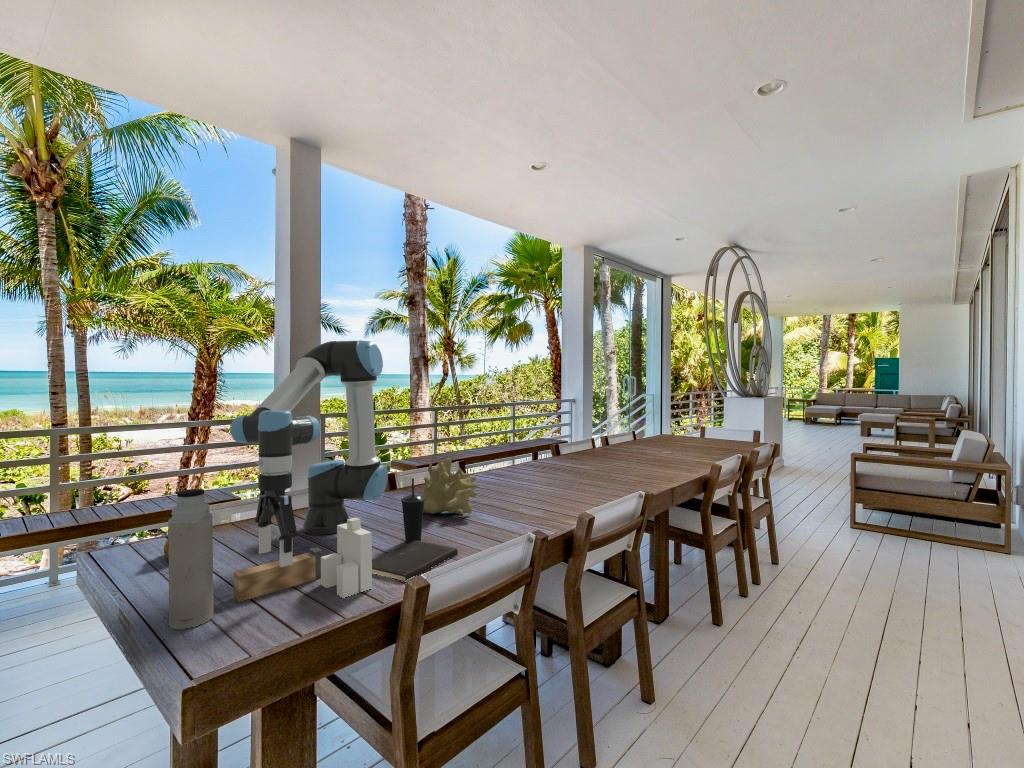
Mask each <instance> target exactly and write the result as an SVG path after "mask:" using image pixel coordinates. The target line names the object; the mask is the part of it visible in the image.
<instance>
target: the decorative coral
mask: <svg viewBox="0 0 1024 768" xmlns="http://www.w3.org/2000/svg"><path fill="white" fill-rule="evenodd" d="M452 459H453V458H452V457H448V458H446V459H444V461H439V462H438V463H437V464H436V465H435V466H434V467H433V464H432V463H429V464H428V465H429V466H427V467H428V468H427V471H428V474H429V477H428V476H425V477H424V478H423V481H424V486H423V487H424V488H423V493H422V495H421V496H423V497H425V500H424V510H423V514H436V513H441V512H442V513H443V512H447V513H454V514H457V515H461V516H463V515H464V514H465V513H466V514H472V513H473V506H472V505H471V504H470V502H469V499H470V498H474V499H475V498H476V497H477V493H476V492H475V491H474V489H477V488H478V487H479V484H477V483H474V482H475V481H476V480H477V479H478V478H477V477H476V476H472V477H470V476H471V474H470V473H468V472H464V471H463V469H461V468H458V470H457V472H454V473H453V472H452V471H451V468H452Z"/></svg>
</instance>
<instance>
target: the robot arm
mask: <svg viewBox="0 0 1024 768" xmlns="http://www.w3.org/2000/svg"><path fill="white" fill-rule="evenodd" d="M383 367H384V360H383V354H382V353H381V350H380V348H379V347H378V345H377V344H376V343H375V342H373V341H371V340H361V339H359V340H341V341H340V340H337V341H336V340H332V341H326V342H323V343H320V344H318V345H316V346H315V347H313V348H312V349H311V350H309V351H307V352H306V353H304V355H302V356H301V358H299V359H298V360H297V361H296V365H295V368H294V369H293V370H292V372H290V373H289V374H288V375H287V376H286V377H285V378H284V379H283V380H282V382H280V384H278V385H277V387H275V389H273V391H272V392H271V393H270V394H269V395H268V396H267V397H266V398H265V399H264V400H263V401H262V402H261V403H260V404H259V405H258V406H257V407H256V408H255V409H254V410H253V411H252V412H251V413H250V414H249V415H248V414H244V415H238V416H236V417H234V419H233V420H232V421H231V424H230V428H229V431H230V432H229V433H230V435H231V438H232V439H233V440H234V441H235V442H237V443H241V444H248V445H249V444H250V445H252V444H258V461H256V465H258V473H260V474H258V476H257V477H258V478H257V481H258V482H257V483H258V484H257V489H258V490H259V499H258V504H257V509H256V510H257V511H256V514H255V519H254V521H255V524H257V526H258V554H259V555H262V554H266V553H268V552H272V524H273V522H272V519H273V517H274V516H275V519H276V523H277V526H278V530H279V533H280V536H279V538H278V541H279V560H280V567H284V566H288V565H292V564H293V557H294V556H293V552H294V551H293V549H294V548H293V539H294V537H298V531H297V526H296V520H295V515H294V511H293V509H294V508H293V503H292V502H293V501H292V500H293V499H292V495H291V494H290V495H289V494H288V495H286V490H287V489H291V488H292V485H293V475H292V473H291V471H292V470H293V454H292V453H293V452H292V451H293V450H292V449H293V446H297V445H302V444H303V445H304V444H306V445H307V444H309V443H311V442H314V441H315V440H316V439H317V438H318V437H319V436H320V433H321V425H320V422H319V420H318V419H317V418H316V417H315V416H312V415H306V414H304V415H303V414H301V415H293V413H292V410H293V409H294V408H295V407H296V406H297V405H298V404H299V402H300V401H301V400H302V399H303V398H305V396H306V395H307V394H308V392H310V390H311V389H312V388H313V387H314V385H316V384H317V383H320V382H322V381H323V380H324V379H325V378H327V377H331V376H333V377H334V376H336V377H340V383H342V385H344V386H345V398H346V399H345V400H346V416H347V421H346V422H347V438H348V439H347V440H348V441H347V442H348V458H347V459H346V460H345V461H344V460H343V459H335V460H328V461H321V462H318V463H313V464H312V465H310V466H309V467H308V471H307V472H308V473H307V483H308V484H307V487H308V488H307V489H308V490H307V491H308V492H307V493H308V495H307V497H308V498H307V499H308V508H307V512H306V514H305V518H304V521H303V525H302V531H304V532H305V534H306V533H308V534H307V535H311V534H314V535H313V536H324V535H331V534H333V535H334V534H337V525H341V524H345V523H347V519H350V518H349V514H348V511H347V510H346V506H345V500H351V501H352V500H355V501H356V500H358V501H365V502H367V501H376V500H378V499H380V498H381V497H382V495H383V494H384V492H385V490H386V487H387V484H388V477H389V475H388V473H389V471H388V469H387V467H386V466H385V465H382V463H381V458H380V457H379V456H378V455H376V436H375V415H374V414H375V413H374V397H373V396H374V394H373V393H374V392H373V389H374V387H373V386H374V384H375V383H376V382H377V378H378V376H380V375H381V374H382V372H383ZM304 532H303V533H304Z"/></svg>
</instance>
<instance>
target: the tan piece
mask: <svg viewBox="0 0 1024 768" xmlns="http://www.w3.org/2000/svg"><path fill="white" fill-rule="evenodd" d="M321 557H323V549H321V548H319V547H317V546H316V547H312V548H308V552H307V553H301V554H299V555H295V556H293V564H292V565H288V566H284V567H280V559H279V560H275V561H274V560H273V561H272V562H268V563H263V564H260V565H256V566H251V567H248V568H244V569H240V570H236V571H234V572H233V598H234V597H235V598H236V599H238V600H239V601H242V602H245V601H244V600H246V601H248V600H247V599H249V600H252V599H255V598H254V597H256V598H258V597H257V596H259V597H261V596H260V595H262V596H264V595H263V594H266V595H268V593H269V594H272V593H276V592H279V591H282V590H285V589H288V588H292V587H295V586H299V585H302V584H306V583H309V582H312V581H316V580H317V578H318V579H321V578H320V577H321ZM305 582H306V583H305ZM275 591H276V592H275ZM271 592H272V593H271ZM235 598H234V599H235ZM251 598H252V599H251ZM236 599H235V600H236ZM238 600H237V601H238ZM239 601H238V602H239Z"/></svg>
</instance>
